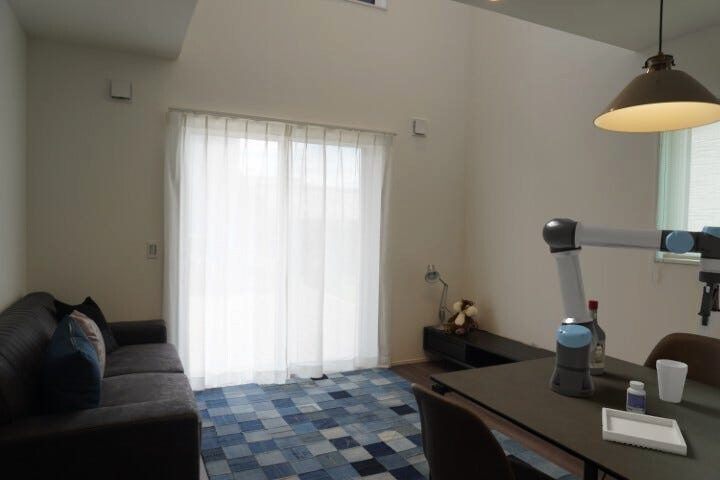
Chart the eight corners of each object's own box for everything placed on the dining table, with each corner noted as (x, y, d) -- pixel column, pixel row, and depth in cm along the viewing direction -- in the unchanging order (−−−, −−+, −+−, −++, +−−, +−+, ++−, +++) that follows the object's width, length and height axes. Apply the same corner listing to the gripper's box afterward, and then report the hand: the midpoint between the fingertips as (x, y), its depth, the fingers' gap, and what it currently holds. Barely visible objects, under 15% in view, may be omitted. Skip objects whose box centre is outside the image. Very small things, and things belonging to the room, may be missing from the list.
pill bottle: (647, 415, 157) (649, 386, 156) (629, 414, 158) (630, 384, 158) (641, 409, 162) (642, 380, 162) (624, 408, 163) (625, 379, 163)
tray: (602, 439, 138) (603, 430, 138) (602, 415, 156) (602, 407, 156) (686, 455, 130) (686, 446, 129) (675, 428, 147) (675, 420, 147)
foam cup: (686, 406, 166) (688, 369, 166) (654, 400, 171) (656, 364, 171) (685, 398, 174) (686, 362, 174) (655, 392, 179) (656, 358, 179)
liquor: (573, 368, 207) (576, 299, 206) (591, 367, 209) (594, 299, 208) (588, 375, 198) (591, 302, 197) (607, 374, 200) (610, 302, 199)
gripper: (720, 274, 155) (715, 340, 156) (731, 270, 172) (727, 329, 173) (692, 271, 160) (687, 335, 161) (706, 268, 178) (701, 325, 179)
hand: (708, 332), depth 167 cm, fingers open, 13 cm apart
